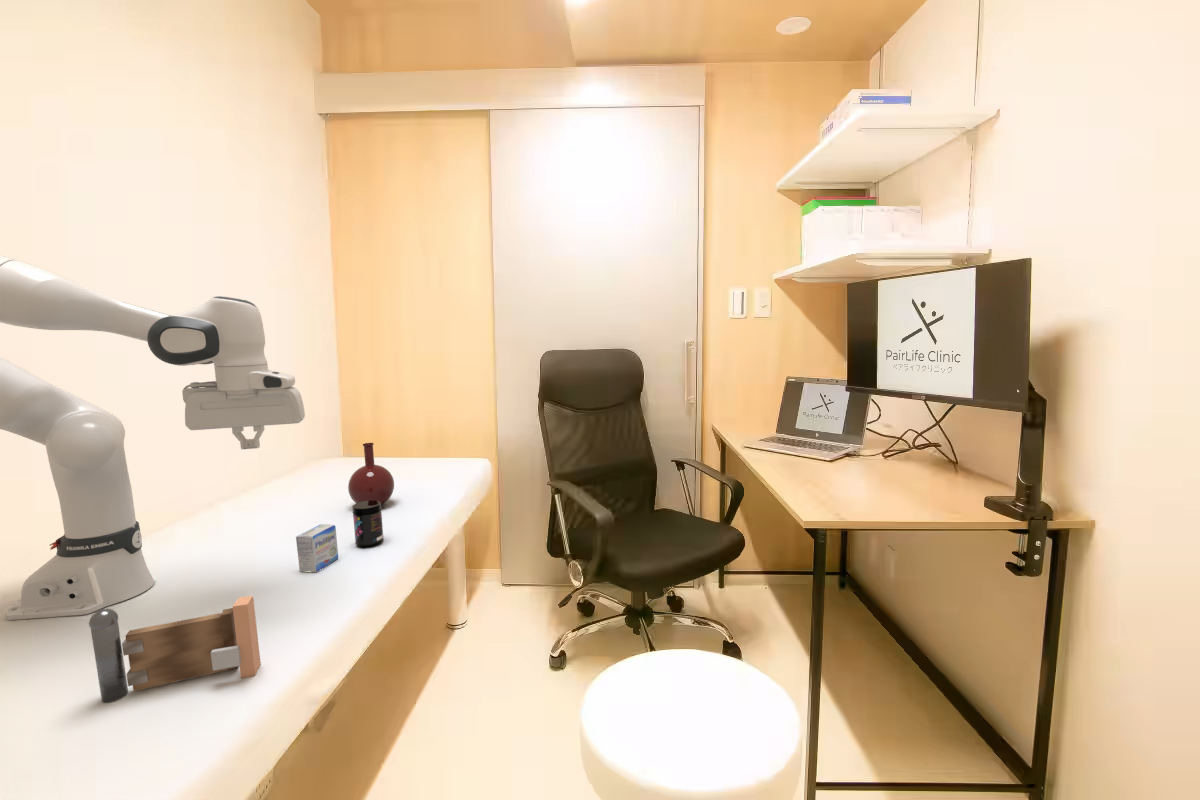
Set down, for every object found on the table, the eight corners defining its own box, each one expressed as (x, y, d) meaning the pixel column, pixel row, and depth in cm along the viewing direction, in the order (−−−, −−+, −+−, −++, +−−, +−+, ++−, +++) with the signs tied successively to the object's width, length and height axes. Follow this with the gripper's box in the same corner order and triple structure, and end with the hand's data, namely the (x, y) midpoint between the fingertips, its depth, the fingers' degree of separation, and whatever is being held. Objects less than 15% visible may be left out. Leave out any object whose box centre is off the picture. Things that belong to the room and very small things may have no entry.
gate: (128, 692, 82) (120, 634, 81) (133, 685, 84) (125, 628, 83) (237, 668, 88) (230, 613, 86) (239, 661, 89) (233, 607, 88)
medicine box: (315, 573, 123) (312, 536, 122) (298, 572, 124) (295, 535, 123) (339, 558, 131) (336, 524, 129) (322, 557, 131) (319, 523, 130)
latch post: (214, 685, 84) (205, 612, 82) (223, 671, 88) (214, 601, 86) (253, 678, 86) (245, 606, 84) (260, 664, 89) (253, 595, 88)
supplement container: (364, 538, 143) (361, 500, 142) (388, 538, 143) (385, 500, 141) (350, 548, 137) (346, 508, 135) (375, 549, 136) (372, 509, 135)
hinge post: (96, 705, 80) (82, 617, 78) (108, 691, 83) (95, 606, 81) (122, 700, 81) (109, 613, 79) (133, 686, 84) (121, 603, 82)
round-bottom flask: (359, 501, 175) (354, 440, 173) (400, 499, 176) (396, 438, 174) (343, 514, 162) (337, 449, 160) (388, 512, 163) (383, 447, 161)
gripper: (173, 384, 102) (183, 456, 103) (296, 378, 108) (302, 447, 109) (188, 381, 108) (196, 449, 109) (303, 376, 114) (309, 441, 115)
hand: (250, 448), depth 109 cm, fingers closed
